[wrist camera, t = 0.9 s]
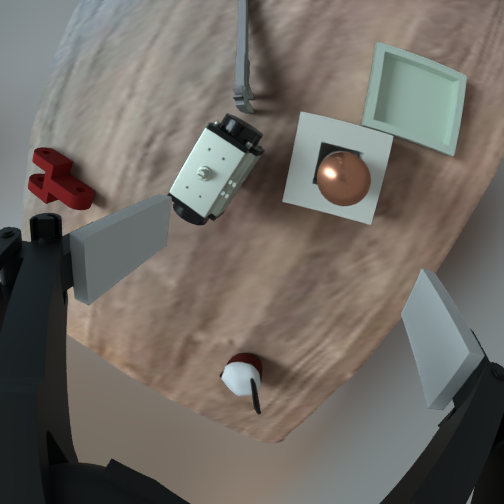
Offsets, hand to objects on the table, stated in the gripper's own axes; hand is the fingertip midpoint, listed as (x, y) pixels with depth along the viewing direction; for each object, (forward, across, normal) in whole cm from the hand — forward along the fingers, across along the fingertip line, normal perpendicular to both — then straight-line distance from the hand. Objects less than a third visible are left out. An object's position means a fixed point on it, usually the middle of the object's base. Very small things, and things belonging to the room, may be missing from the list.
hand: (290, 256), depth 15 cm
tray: (+25, +10, +14) cm, 30 cm away
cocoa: (+25, -2, -31) cm, 40 cm away
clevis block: (+25, +2, +3) cm, 25 cm away
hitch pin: (+24, +2, +3) cm, 24 cm away
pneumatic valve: (+25, -10, 0) cm, 27 cm away
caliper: (+26, -12, +17) cm, 33 cm away
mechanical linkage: (+25, -40, -8) cm, 48 cm away
